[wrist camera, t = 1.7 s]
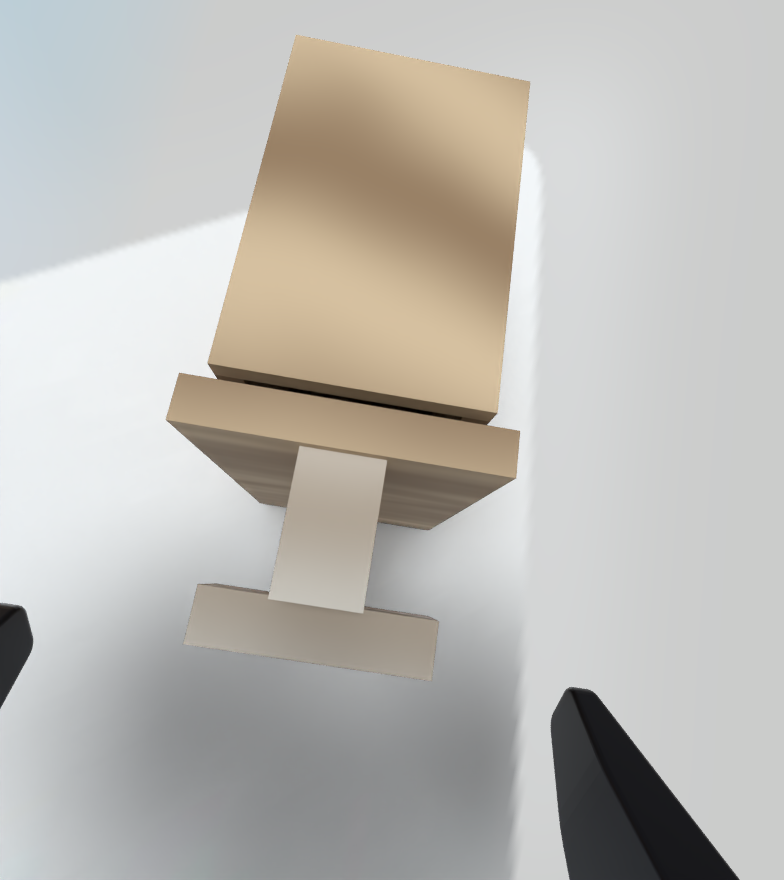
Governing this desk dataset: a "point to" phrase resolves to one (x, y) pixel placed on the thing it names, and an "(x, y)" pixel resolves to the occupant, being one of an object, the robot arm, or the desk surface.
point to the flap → (332, 515)
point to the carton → (380, 235)
